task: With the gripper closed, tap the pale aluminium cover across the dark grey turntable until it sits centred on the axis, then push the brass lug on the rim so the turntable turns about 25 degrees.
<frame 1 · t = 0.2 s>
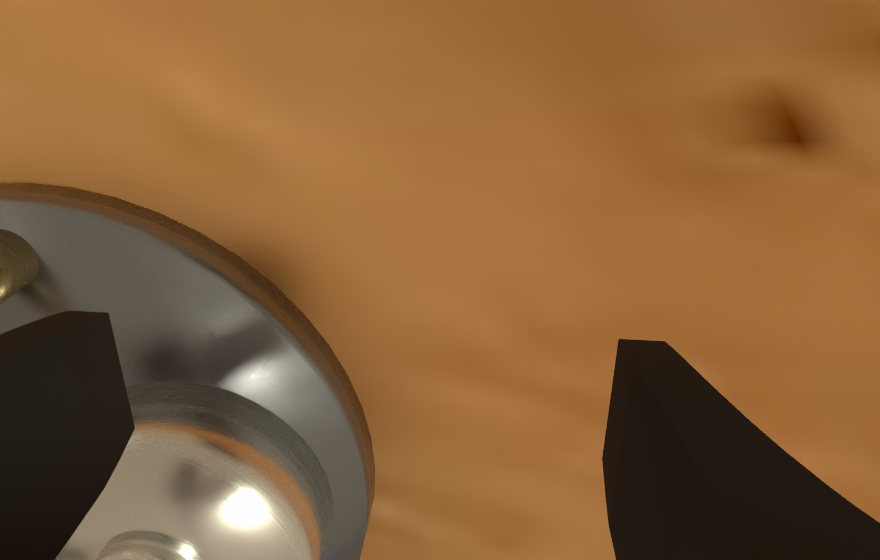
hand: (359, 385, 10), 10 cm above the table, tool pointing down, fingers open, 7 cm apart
turntable: (59, 499, 21), point 3 cm above the table, hinge at 0.0°, touching cover
cover: (201, 491, 21), point 3 cm above the table, touching turntable
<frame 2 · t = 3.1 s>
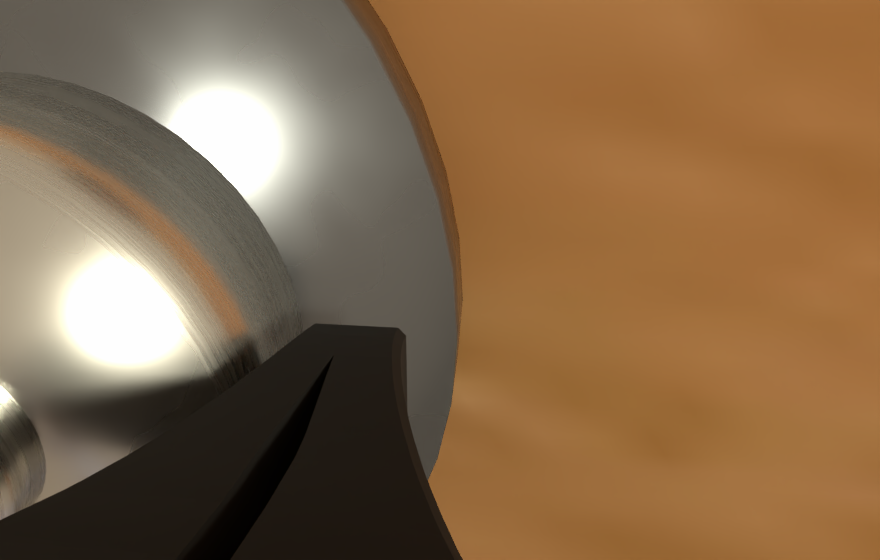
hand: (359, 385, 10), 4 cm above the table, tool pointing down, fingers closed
cover: (65, 321, 12), point 3 cm above the table
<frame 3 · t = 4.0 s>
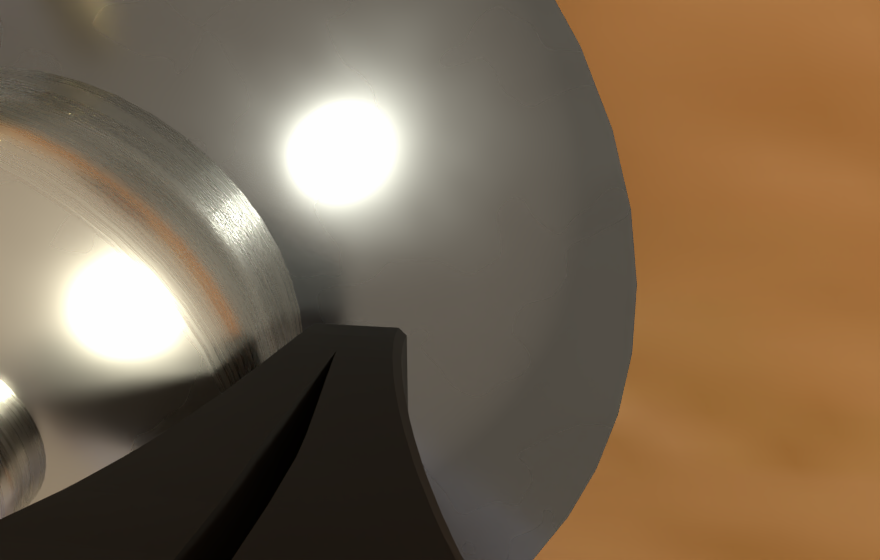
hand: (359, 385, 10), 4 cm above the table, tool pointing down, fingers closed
turntable: (47, 347, 11), point 3 cm above the table, hinge at 0.0°, touching cover
cover: (64, 317, 12), point 3 cm above the table, touching turntable
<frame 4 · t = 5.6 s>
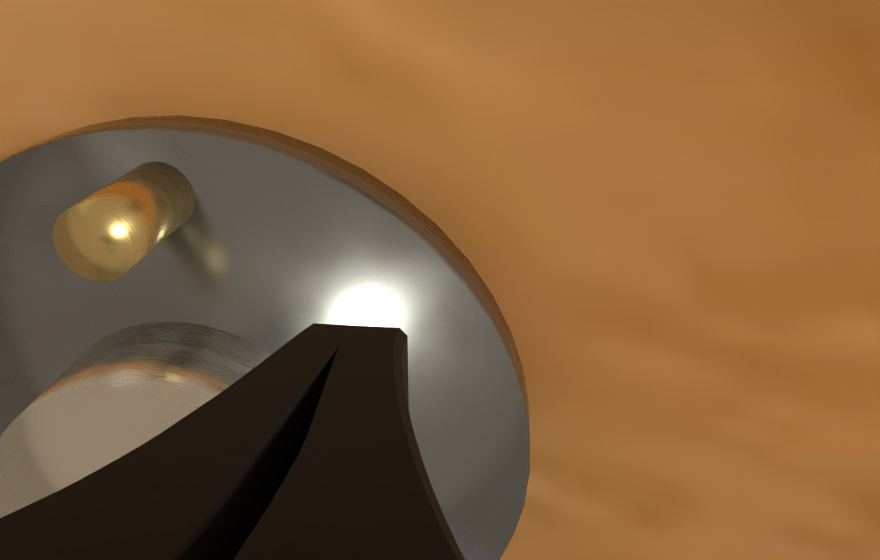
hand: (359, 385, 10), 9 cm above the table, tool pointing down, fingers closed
turntable: (195, 467, 19), point 3 cm above the table, hinge at 0.0°, touching cover
cover: (200, 445, 20), point 3 cm above the table, touching turntable
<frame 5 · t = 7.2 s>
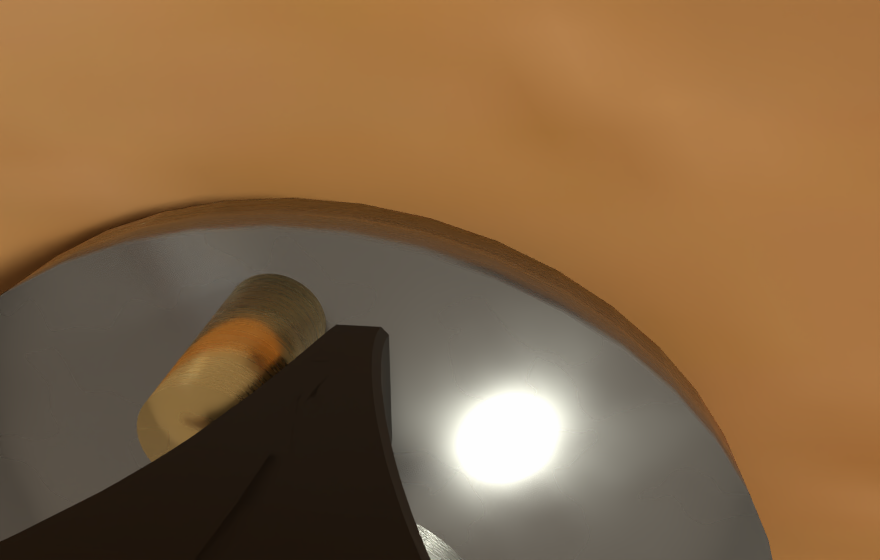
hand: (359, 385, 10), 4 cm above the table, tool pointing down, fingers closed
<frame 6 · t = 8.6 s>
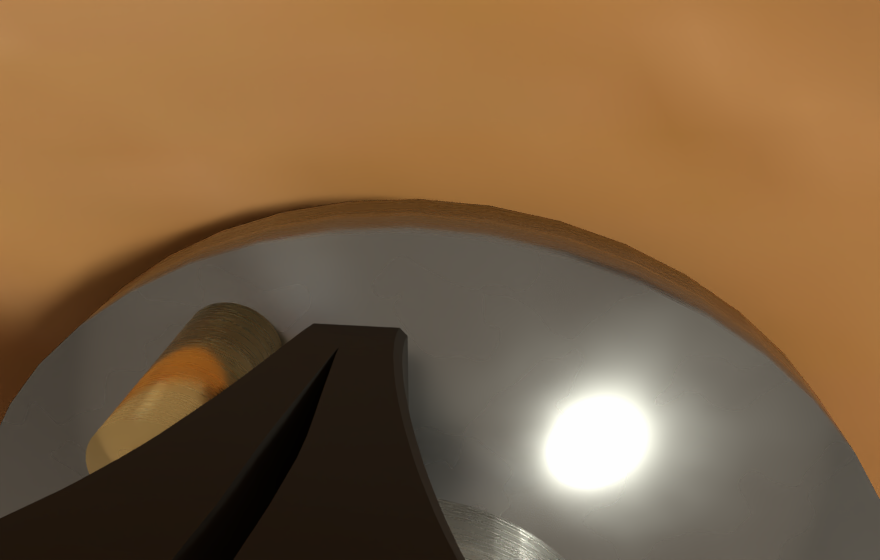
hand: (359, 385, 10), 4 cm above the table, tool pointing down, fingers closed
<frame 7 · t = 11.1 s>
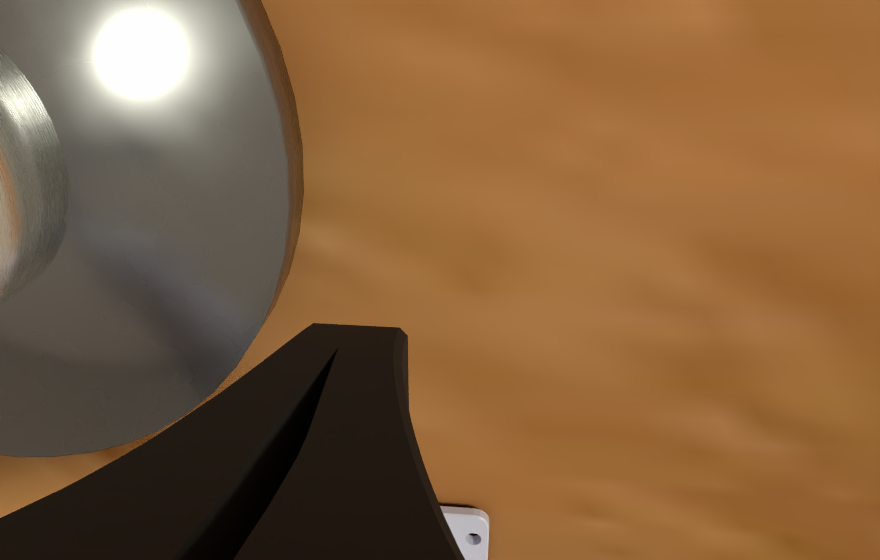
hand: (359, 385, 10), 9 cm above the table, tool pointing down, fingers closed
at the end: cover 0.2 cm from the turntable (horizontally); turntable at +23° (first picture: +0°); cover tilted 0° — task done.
